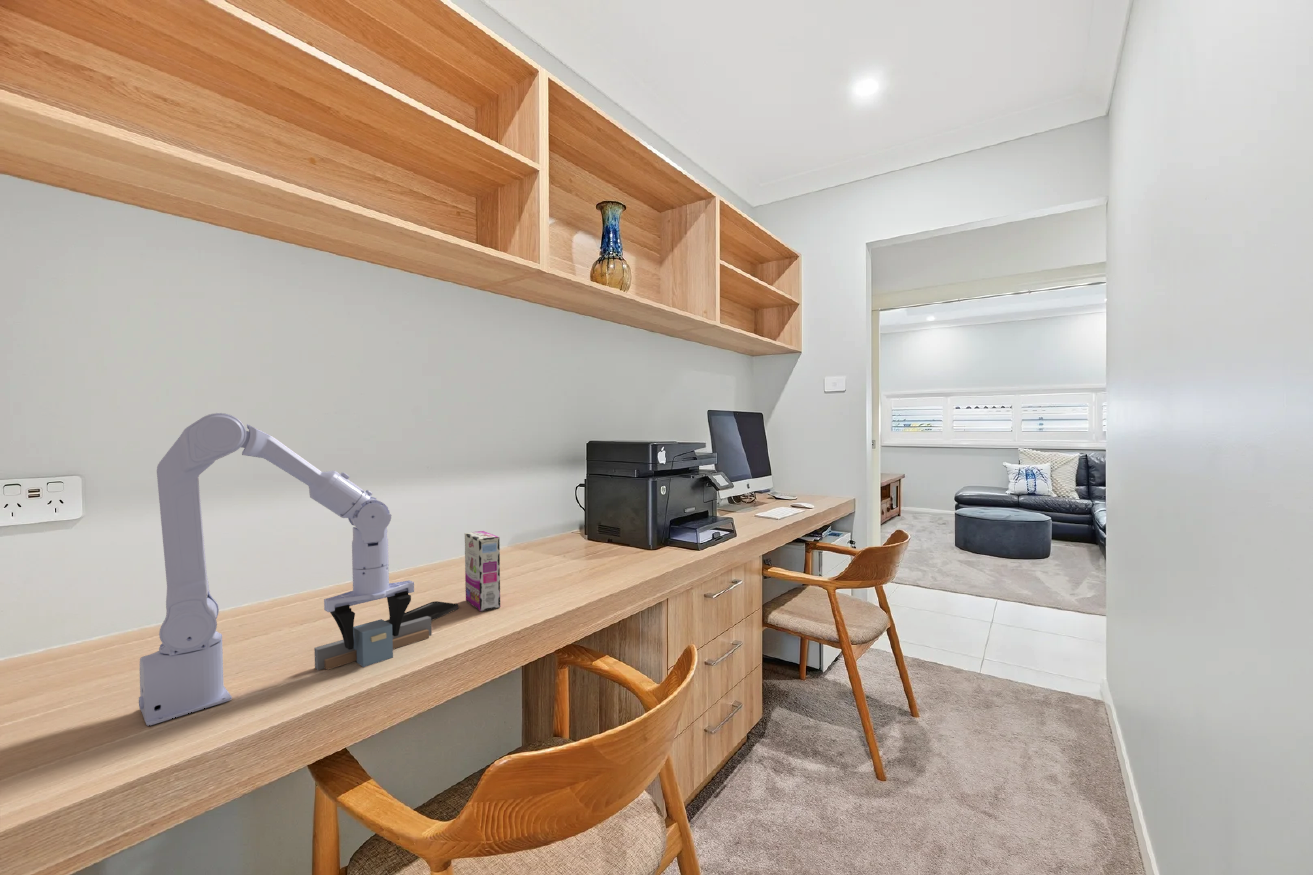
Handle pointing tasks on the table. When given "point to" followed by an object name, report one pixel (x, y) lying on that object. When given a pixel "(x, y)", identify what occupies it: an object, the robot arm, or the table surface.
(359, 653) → the cabinet
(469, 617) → the table surface
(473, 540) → the candy bar box
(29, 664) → the table surface
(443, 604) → the phone
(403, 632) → the grey and brown bar
